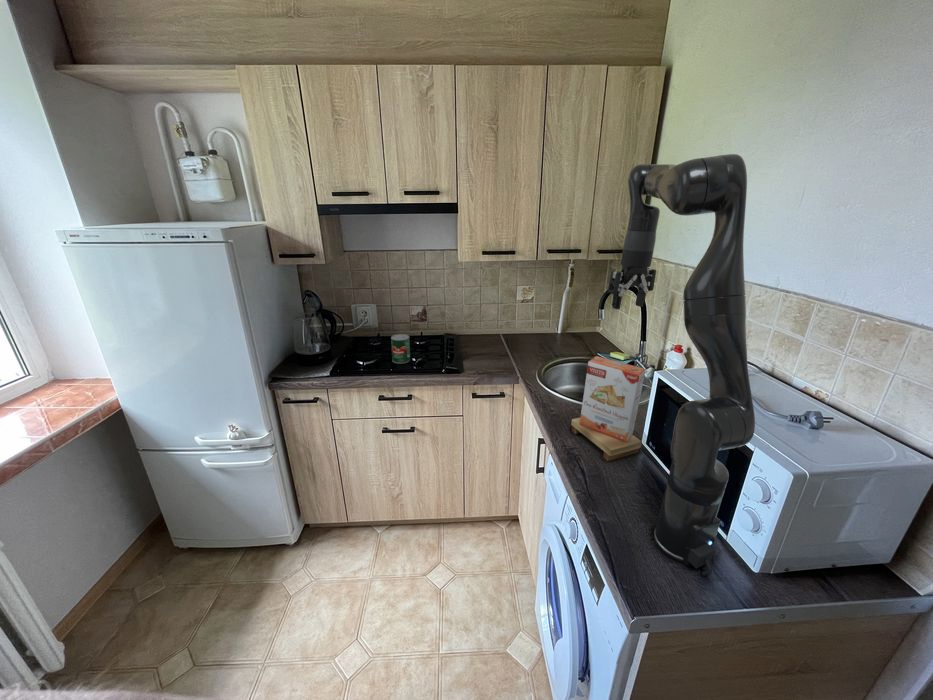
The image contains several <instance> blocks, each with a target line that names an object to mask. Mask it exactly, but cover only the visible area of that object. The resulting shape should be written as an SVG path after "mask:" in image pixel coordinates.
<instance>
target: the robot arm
mask: <svg viewBox="0 0 933 700" xmlns="http://www.w3.org/2000/svg"><path fill="white" fill-rule="evenodd" d="M747 171H748V170H747V165H746V163H745V160H744V158H743V157H742V155H739V154H737V153H728V154H719V155H714V156H707V157H698V158H691V159H689V160H686V161H683V162H680V163H678V164H670V163H669V164H667V163H665V164H663V163H661V164H656V163H655V164H654V163H653V164H652V163H651V164H648V163H641V164H637V165H634V167H632V169H631V170H630V171H629V174H628V177H627V190H628V197H629V216H628V222H627V229H626V234H625V236H624V240H623V247H622V253H621V258H620V265H621V270H620V271H616V270H612V271H611V272H610V278H609V282H608V288H607V293H609V294H611V295H612V301H611V307H612V309H613V310H620V309H621V306H622V305H621V304H622V300H623V299H622V298H623V294H625V292H626V291H628V290H629V288H633V287H636V290H637V291H638V292H637V294H636V299H635V304H634V305H635V306H636V307H639V308H641V307H643V306H644V305H645V301H646V296H647V294H649V292H652V291H654V288H655V281H656V275H657V270H656V269H654V268H650V267H651V265H652V262H653V257H654V250H655V246H656V241H657V240H656V239H657V230H658V224H659V220H660V215H661V210H660V208H659V207H658V206H655V205H651V204H647V203H645V202H644V200H643V196H650V197H652V198H655V199H660V200H661V202H662V203H663V204H664V205H665V206H666V207H667V209H668V210H670V211H671V213H674V214H676V215H679V216H685V217H686V216H688V217H689V216H696V215H697V216H698V215H706V214H714V228H713V234H712V238H711V240H710V243H709V245H708V247H707V249H706V251H705V253H704V254H703V255H702V258H701V259H700V260H699V262H698V264H697V265H696V266H695V268H694V270H693V271H692V273H691V275H690V276H689V278H688V280H687V282H686V284H685V286H684V289H683V294H682V295H683V297H682V298H683V319H684V320H683V321H684V322H683V323H684V328H685V331H686V333H687V336H688V338H689V339H690V341H691V342H692V344H693V346H694V347H695V349H696V351H697V352H698V354H699V355H700V356H701V358H702V360H703V361H704V364H705V366H706V369H707V373H708V383H709V397H708V398H701V399H695V400H690V401H686V402H685V403H683V404H682V405H681V407H680V408H679V409H678V411H677V414H676V417H675V420H674V425H673V432H672V439H671V443H670V451H669V452H670V459H671V465H670V469H669V473H668V477H667V481H666V485H665V488H664V489H665V490H664V493H663V498H662V501H661V505H660V510H659V513H658V518H657V521H656V525H655V528H654V532H653V540H654V542H655V544H656V546H657V548H658V549H660V550H661V551H662V552H663V553H664V554H665V555H667V556H668V557H670V558H671V559H673V560H675V561H677V562H680V563H682V564H684V565H685V567H691V566H693V568H695V569H698V568H701V567H702V566H706V570H703V571H702V572H701V574H702V576H704V577H706V576H710V575H711V574H712V572H713V569H712V565H711V563H712V560H713V557H714V554H715V552H716V551H715V549H714V547H713V546H714V544H715V540H716V538H717V534H718V531H719V528H720V525H721V522H722V521H721V519H720V518H719V517H717V516H718V513H719V510H720V507H721V503H722V501H723V497H724V494H725V492H726V488H727V485H728V482H729V479H730V474H729V470H728V469H727V467H726V466H725V465H724V463H722V462H721V461H720V460H718V459H717V457H718V453H719V451H726V450H731V449H737V448H741V447H744V446H746V445H747V444H749V443H750V442H751V440H752V439H753V437H754V435H755V430H756V416H755V408H754V402H753V395H752V389H751V381H750V377H749V376H750V375H749V366H748V365H749V363H748V347H747V345H748V344H747V331H746V329H747V327H746V325H747V324H746V323H747V301H746V298H747V297H746V283H745V259H744V256H745V255H744V242H745V241H744V240H745V239H744V237H745V236H744V235H745V221H746V207H747V195H748V194H747V193H748V190H747V189H748V172H747Z"/></svg>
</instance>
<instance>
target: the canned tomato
mask: <svg viewBox="0 0 933 700" xmlns="http://www.w3.org/2000/svg"><path fill="white" fill-rule="evenodd" d="M390 340H391V341H390V343H391V359H392V360H391V361H392V363H393V364H397V365H398V364H401V365H403V364H406V363H409V362H410V361H411V346H410V345H411V344H410V335H409V334H404V333H398V334H397V333H396V334H394V335H393V334H392V335H391V337H390Z"/></svg>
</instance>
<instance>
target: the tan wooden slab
mask: <svg viewBox="0 0 933 700" xmlns="http://www.w3.org/2000/svg"><path fill="white" fill-rule="evenodd" d="M570 425H571V432H572V433H573V434H574V435H579V434H582V435H583V436H584V437H586V438H587V439H588V440H589V441H591V442H592V443H593V444H594V445H596V446H597V448H599V449H600V450H602V451H603V454H602V459H604V460H605V461H606V462H611V461H614V460H618V459H621V458H624V457H627V456H631V455H635V454H637V453H639V451H640V449H641V448H642V444H643V441H642V440H641V439H639V438H638V437H636V436H635V435H633V434H632V435H631V437H630V438H629V439H628V440H627V442H624V441H621V440H619V439H616V438H614V437H611V436H608V435H606V434H603V433H601V432H598V431H596V430H593V429H590V428H588V427H585V426H583V425H580V417H576V418H572V419H571V423H570Z"/></svg>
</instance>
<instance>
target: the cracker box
mask: <svg viewBox="0 0 933 700" xmlns="http://www.w3.org/2000/svg"><path fill="white" fill-rule="evenodd" d="M646 371H647V368H643V367H639V366H636V365H632V364H629V363H624V362H620V361H617V360H614V359H610V358H606V357H601V356H598V355H595V356H594V357H593V358H592V359H590V360H589V361H588V362H587V369H586V376H585V384H584V390H583V397H582V404H581V412H580V417H579V418H580V425H583V426H585V427H588V428H590V429H593V430H596V431H598V432H601V433H603V434H606V435H608V436H611V437H614V438H616V439H619V440H621V441H624V442H627V440H628V439H629V438H630V437H631V435H633V434H634V431H635V426H636V421H637V416H638V412H639V411H638V410H639V407H640V406H639V405H640V401H641V396H642V391H643V386H644V381H645V376H646Z"/></svg>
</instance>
